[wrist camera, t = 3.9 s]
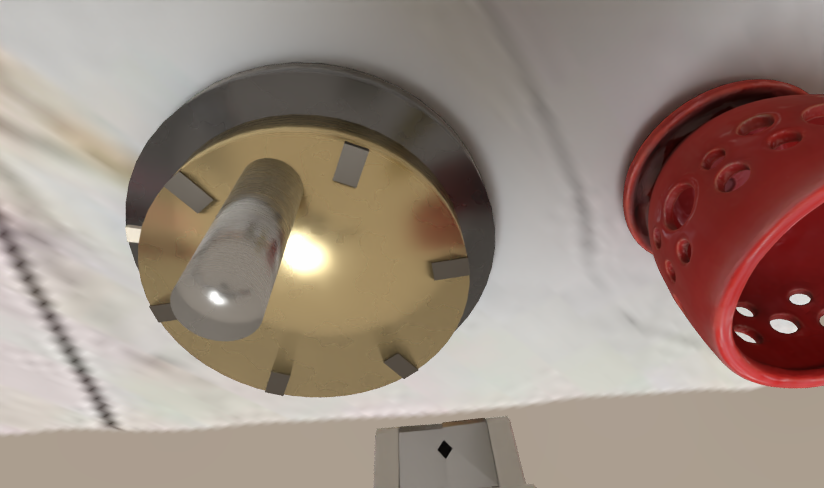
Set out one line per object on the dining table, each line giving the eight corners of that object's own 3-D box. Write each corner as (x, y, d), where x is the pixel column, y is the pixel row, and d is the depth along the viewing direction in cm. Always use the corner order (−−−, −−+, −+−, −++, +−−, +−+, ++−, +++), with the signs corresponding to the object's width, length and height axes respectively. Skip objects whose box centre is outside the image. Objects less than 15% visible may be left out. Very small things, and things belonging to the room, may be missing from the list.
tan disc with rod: (475, 343, 34) (511, 517, 24) (227, 378, 35) (162, 559, 25) (443, 86, 24) (480, 199, 14) (100, 146, 25) (-88, 290, 15)
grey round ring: (101, 42, 25) (76, 52, 23) (523, 82, 27) (533, 94, 25) (172, 352, 37) (160, 376, 35) (461, 364, 39) (464, 387, 37)
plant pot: (653, 286, 35) (758, 431, 25) (571, 148, 29) (667, 267, 19) (848, 185, 31) (1066, 309, 21) (800, 2, 25) (1073, 55, 15)
